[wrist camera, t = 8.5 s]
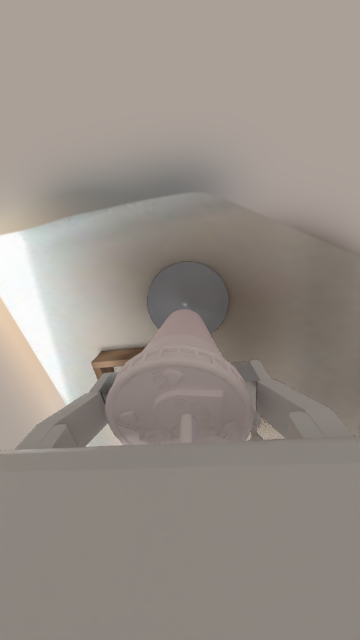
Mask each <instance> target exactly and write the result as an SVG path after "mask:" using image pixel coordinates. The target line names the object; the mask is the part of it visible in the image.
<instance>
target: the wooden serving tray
mask: <svg viewBox="0 0 360 640" xmlns="http://www.w3.org/2000/svg"><path fill="white" fill-rule="evenodd" d="M144 349H145V348H134V349H124V350H113V351H102V352H101V353H100V354H99V355H98V356H97V357H96V358H95V359H94V360H93V361H92V362H91V364H92V366H93V369H94V371H95V374H96V376H97V379H99V378H100V377H101V375H102V374H104V373H110V372H112V373H113V372H114V369H113V367H116V366H124V365H125V363H126V362H127V361H129V360H130V359H132V358H133V357H135V356H136V355H138V354H139V353H141V352H142V351H143V350H144Z"/></svg>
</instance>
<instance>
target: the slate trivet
mask: <svg viewBox="0 0 360 640" xmlns="http://www.w3.org/2000/svg"><path fill="white" fill-rule="evenodd" d="M147 306H148V311H149V314H150V317H151V319H152V321H153V322H154V324H155V325H156V326H157V327H158V328H159V329H160V327H161V326H162V325H163V323H164V322H165V321H166V319H167V318H168V317H169V316H170V315H171V314H172V313H173V312H175V311H177V310H181V309H188V310H192V311H194V312H196V313H197V314H198V315H199V316H200V317H201V318H202V320H203V322H204V324H205V326H206V327H207V329H208V331H209V333H210V334H212V333H213V332H214V331H215V330H216V329H218V328H219V326H220V325H221V324H222V322H223V321H224V319H225V317H226V314H227V311H228V306H229V298H228V292H227V289H226V286H225V284H224V282H223V280H222V279H221V278H220V276H219V275H218V274H217V273H216V272H215V271H213V270H212V269H210V268H209V267H207V266H205V265H203V264H200V263H196V262H180V263H176V264H173V265H171V266H169V267H167V268H165V269H164V270H163V271H161V272H160V273H159V274H158V275H157V276H156V278H155V279H154V280H153V282H152V284H151V286H150V288H149V292H148V297H147Z"/></svg>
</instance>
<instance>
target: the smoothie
mask: <svg viewBox="0 0 360 640" xmlns="http://www.w3.org/2000/svg"><path fill="white" fill-rule="evenodd" d="M105 412H106V418H107V421H108V424H109V426H110V428H111V430H112V431H113V433H114V435H115V436H116V437H117V438H118V439H119V440H120V441H121V443H122V444H124V445H146V444H171V443H196V442H222V441H245V440H246V438H247V437H248V435H249V433H250V431H251V429H252V426H253V422H254V408H253V404H252V401H251V399H250V396H249V393H248V390H247V387H246V384H245V381H244V379H243V378H242V376H241V375H240V374H239V372H238V371H237V370H236V368H235V367H234V366H233V365H231V364H230V363H229V362H228V361H226V360H225V359H224V357H223V355H222V354H221V352H220V351H219V349H218V347H217V345H216V343H215V342H214V340H213V338H212V336H211V334H210V333H209V331H208V329H207V327H206V326H205V324H204V322H203V320H202V318H201V317H200V316H199V315H198V314H197V313H196V312H194V311H192V310H188V309H181V310H177V311H175V312H173V313H172V314H171V315H170V316H169V317H168V318H167V319H166V321H165V322H164V323H163V325H162V326H161V327H160V329H159V330H158V331H157V333H156V334H155V335H154V337H153V338H152V339H151V341H150V342H149V343H148V345H147V346H146V347H145V349H144V350H143V351H142V352H141V353H139V354H138V355H136V356H135V357H133V358H132V359H130V360H129V361H127V362H126V363H125V365H124V366H123V367H122V368H121V369H120V371H119V372H118V373H117V375H116V378H115V380H114V383H113V385H112V387H111V388H110V390H109V392H108V395H107V398H106V404H105Z"/></svg>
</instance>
